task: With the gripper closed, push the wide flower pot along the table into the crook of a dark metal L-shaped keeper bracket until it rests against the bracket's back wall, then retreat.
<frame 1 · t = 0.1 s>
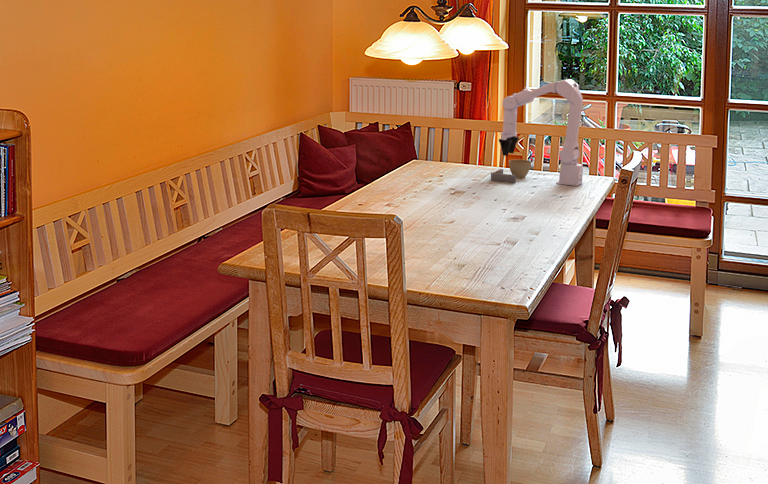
hand: (508, 154, 367), 10 cm above the table, fingers open, 7 cm apart
flower pot: (519, 177, 369), on the table
keeper bracket: (511, 180, 361), on the table
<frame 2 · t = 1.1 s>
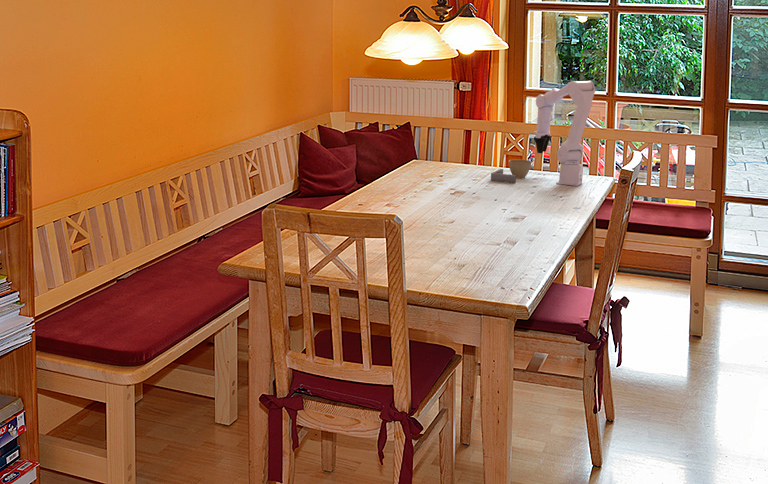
hand: (541, 152, 372), 10 cm above the table, fingers open, 4 cm apart
nothing on the table moved.
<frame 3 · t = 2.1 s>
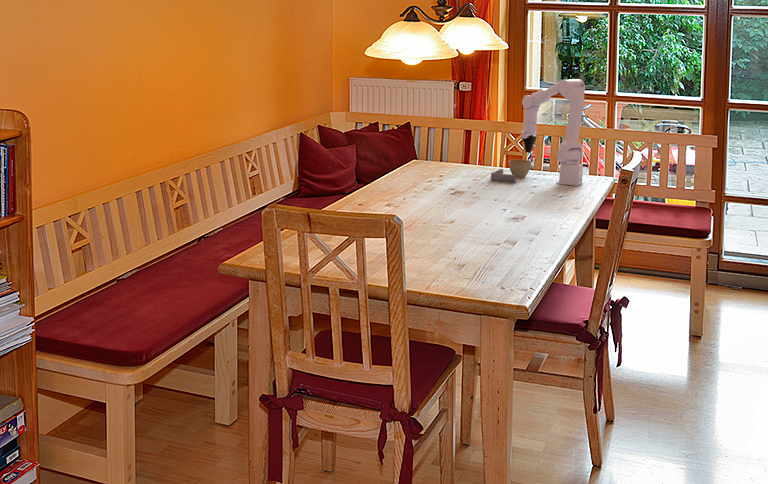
hand: (528, 152, 376), 10 cm above the table, fingers closed
nothing on the table moved.
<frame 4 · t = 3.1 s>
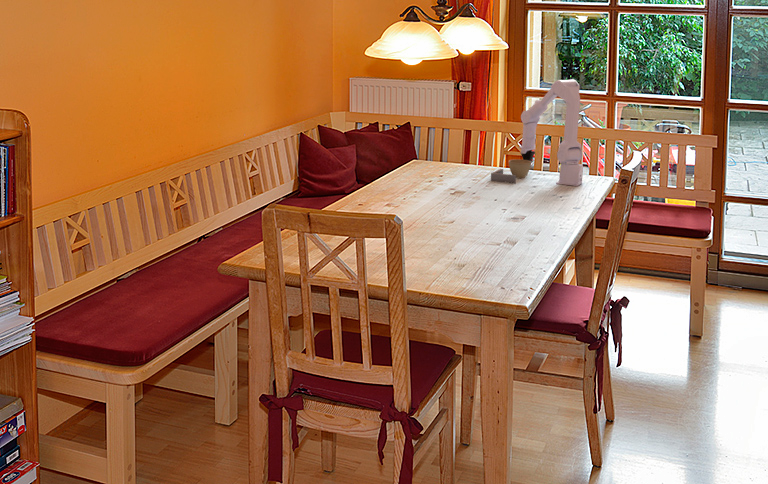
hand: (527, 167, 377), 3 cm above the table, fingers closed
nothing on the table moved.
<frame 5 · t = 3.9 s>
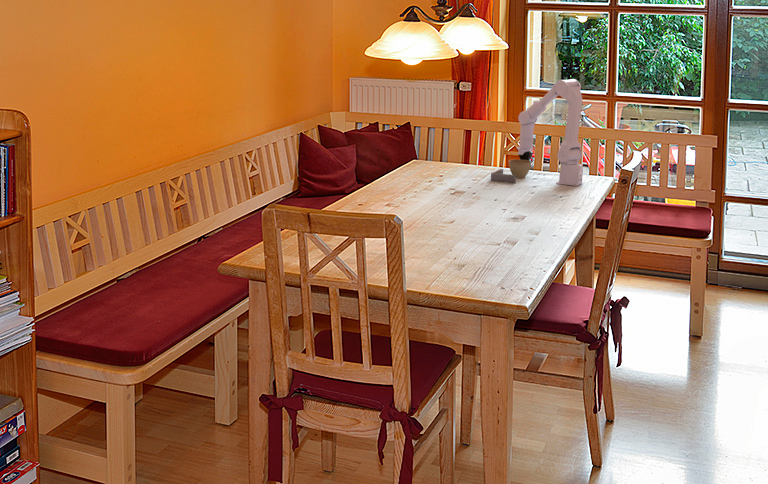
hand: (524, 168, 374), 3 cm above the table, fingers closed
flower pot: (519, 177, 369), on the table, touching gripper
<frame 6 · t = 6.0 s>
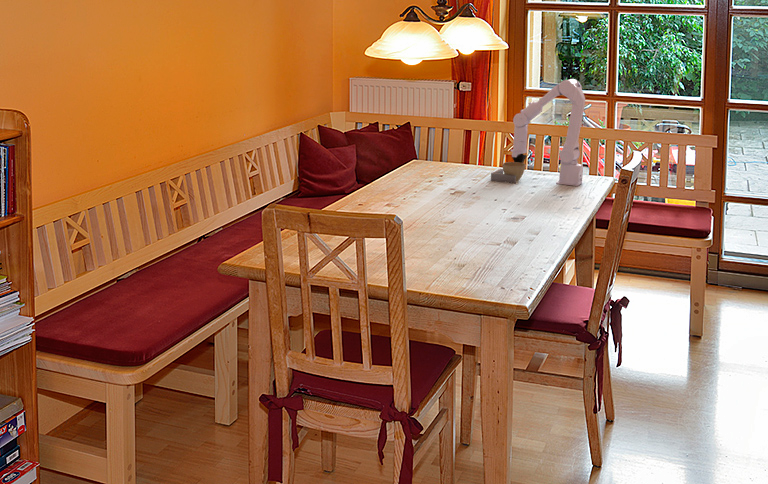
hand: (518, 171, 367), 3 cm above the table, fingers closed
flower pot: (513, 180, 362), on the table, touching gripper
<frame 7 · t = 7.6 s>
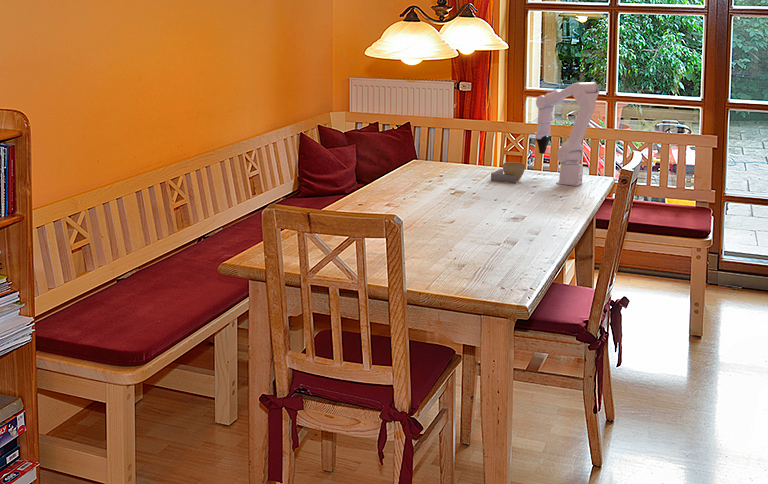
hand: (542, 153, 369), 10 cm above the table, fingers closed
flower pot: (513, 180, 362), on the table
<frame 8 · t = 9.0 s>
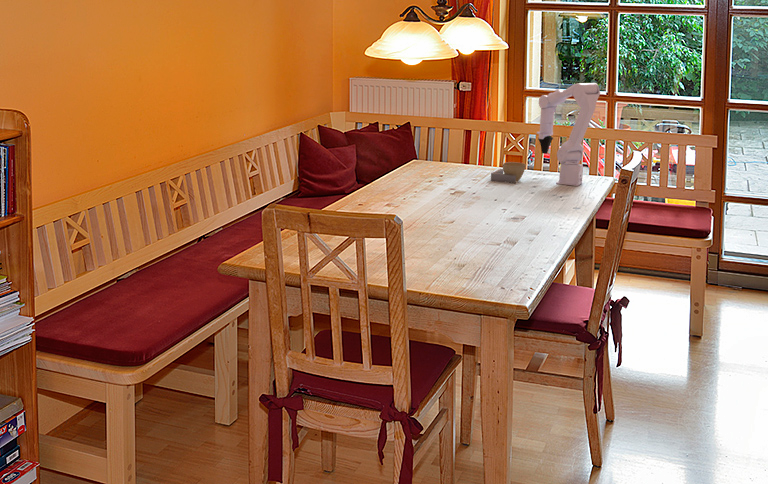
hand: (544, 153, 369), 10 cm above the table, fingers closed
nothing on the table moved.
at the end: flower pot inside the target area (0.9 cm from its centre), on the table; flower pot tilted 0° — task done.
